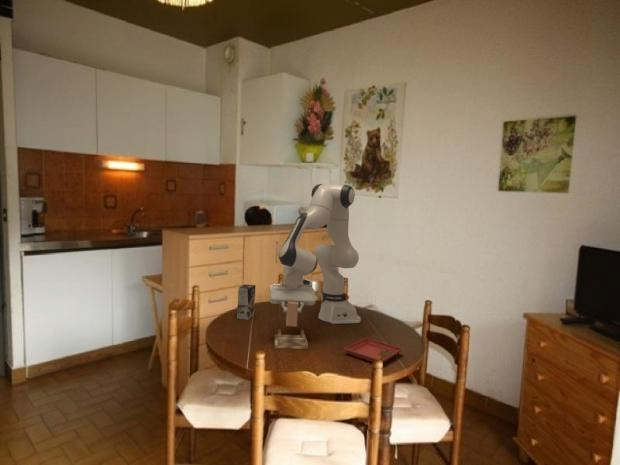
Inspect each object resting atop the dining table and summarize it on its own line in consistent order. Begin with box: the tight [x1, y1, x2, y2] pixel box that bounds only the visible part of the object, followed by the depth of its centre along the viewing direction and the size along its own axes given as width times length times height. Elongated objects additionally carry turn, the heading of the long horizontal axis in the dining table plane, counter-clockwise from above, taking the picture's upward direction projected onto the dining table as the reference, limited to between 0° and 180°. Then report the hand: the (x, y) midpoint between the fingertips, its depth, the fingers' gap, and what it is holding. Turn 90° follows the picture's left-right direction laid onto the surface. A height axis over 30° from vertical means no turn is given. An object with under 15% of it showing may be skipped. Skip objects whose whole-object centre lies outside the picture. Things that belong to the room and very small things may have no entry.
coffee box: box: [236, 284, 257, 321], centre depth 211 cm, size 9×6×16 cm
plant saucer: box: [344, 337, 403, 363], centre depth 171 cm, size 18×18×3 cm
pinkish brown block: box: [285, 301, 299, 327], centre depth 178 cm, size 4×4×10 cm
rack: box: [274, 328, 309, 350], centre depth 179 cm, size 14×13×4 cm
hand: (292, 312), depth 177 cm, fingers closed on pinkish brown block, 4 cm apart
